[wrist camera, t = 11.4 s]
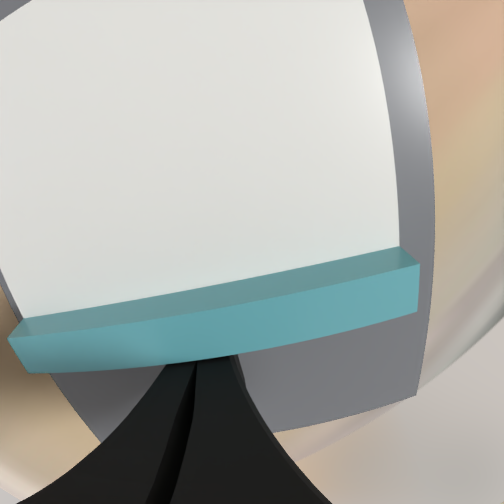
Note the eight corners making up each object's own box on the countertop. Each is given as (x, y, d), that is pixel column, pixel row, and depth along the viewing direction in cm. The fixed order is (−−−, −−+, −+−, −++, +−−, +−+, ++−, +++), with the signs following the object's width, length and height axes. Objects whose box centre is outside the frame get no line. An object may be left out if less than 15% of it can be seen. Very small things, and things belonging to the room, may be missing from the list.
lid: (57, 329, 9) (28, 373, 7) (-21, 60, 5) (-70, 56, 3) (381, 269, 8) (417, 311, 6) (323, -54, 5) (348, -96, 3)
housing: (113, 405, 14) (100, 444, 12) (-2, -76, 4) (-29, -91, 2) (395, 358, 14) (416, 396, 11) (287, -163, 4) (294, -193, 1)
